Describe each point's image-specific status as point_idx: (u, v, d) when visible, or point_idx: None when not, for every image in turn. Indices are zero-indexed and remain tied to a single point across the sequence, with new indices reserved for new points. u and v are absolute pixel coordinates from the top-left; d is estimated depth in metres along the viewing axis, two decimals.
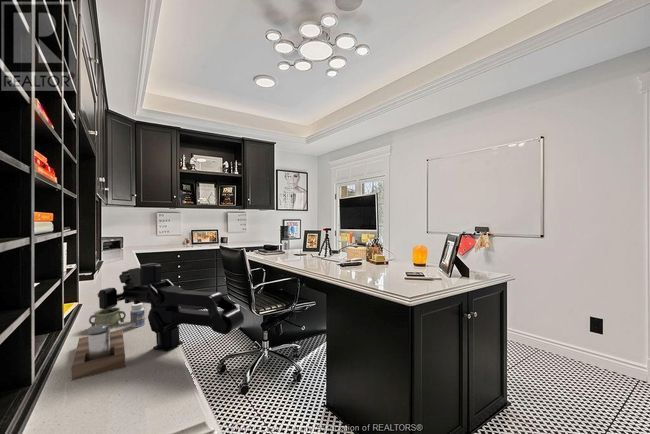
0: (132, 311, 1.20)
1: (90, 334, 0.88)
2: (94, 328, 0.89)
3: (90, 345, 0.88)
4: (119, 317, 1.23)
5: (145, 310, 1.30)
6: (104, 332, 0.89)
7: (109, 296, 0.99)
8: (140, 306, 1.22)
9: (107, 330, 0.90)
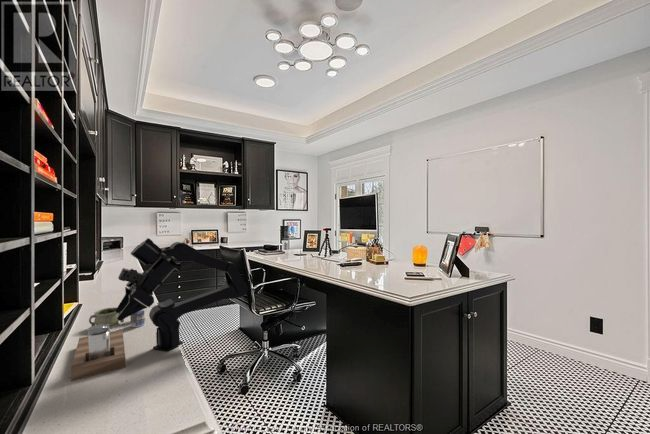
0: None
1: (90, 334, 0.88)
2: (94, 328, 0.89)
3: (90, 345, 0.88)
4: None
5: (145, 310, 1.30)
6: (104, 332, 0.89)
7: (144, 291, 0.91)
8: None
9: (107, 330, 0.90)
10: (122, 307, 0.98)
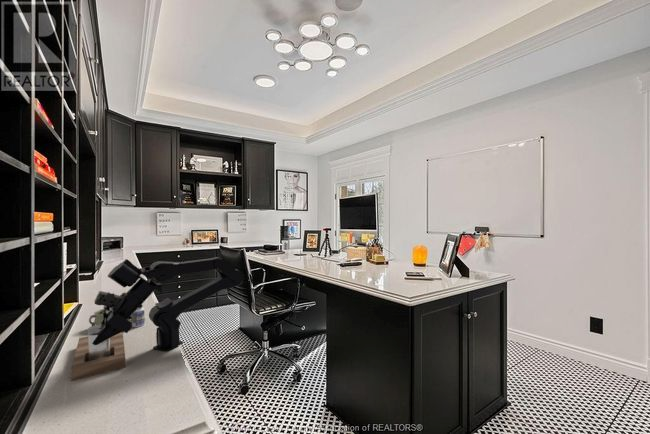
0: None
1: (90, 334, 0.88)
2: (94, 328, 0.89)
3: (90, 345, 0.88)
4: None
5: (145, 310, 1.30)
6: None
7: (122, 316, 0.87)
8: None
9: None
10: None
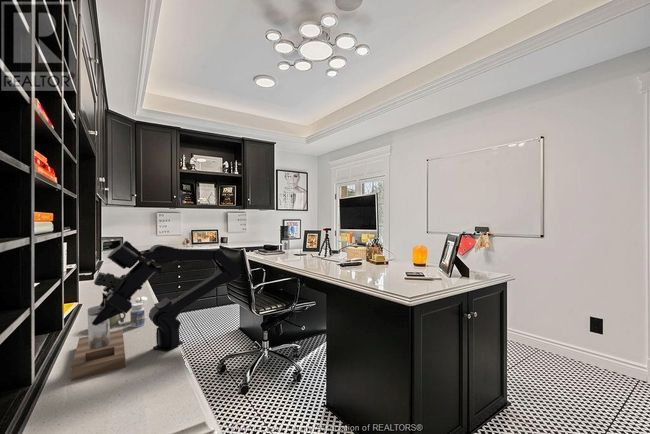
0: (132, 311, 1.20)
1: (89, 314, 0.88)
2: (93, 308, 0.89)
3: (89, 325, 0.88)
4: (119, 317, 1.23)
5: (145, 310, 1.30)
6: None
7: (121, 296, 0.87)
8: (140, 306, 1.22)
9: None
10: None
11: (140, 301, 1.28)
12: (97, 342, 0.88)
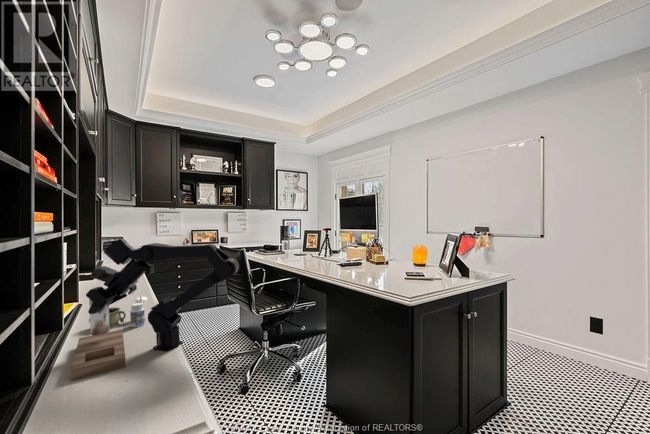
0: (132, 311, 1.20)
1: (89, 303, 0.98)
2: None
3: None
4: (119, 317, 1.23)
5: (145, 310, 1.30)
6: None
7: (100, 291, 0.92)
8: (140, 306, 1.22)
9: None
10: None
11: (140, 301, 1.28)
12: (93, 330, 0.97)
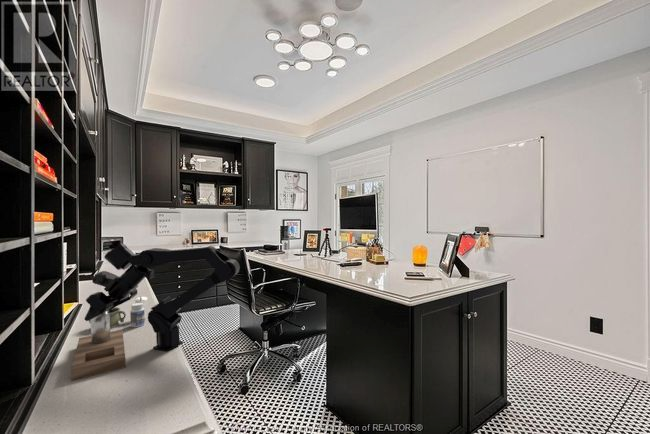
0: (132, 311, 1.20)
1: None
2: None
3: (90, 322, 0.99)
4: (119, 317, 1.23)
5: (145, 310, 1.30)
6: None
7: (100, 296, 0.93)
8: (140, 306, 1.22)
9: None
10: None
11: (140, 301, 1.28)
12: (94, 338, 0.98)
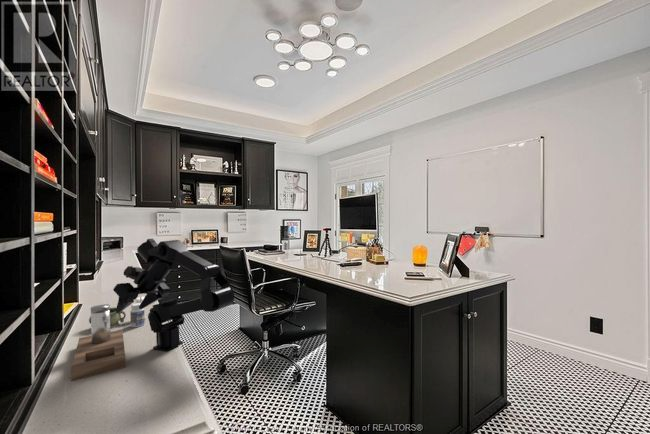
0: (132, 311, 1.20)
1: None
2: (95, 307, 1.00)
3: (91, 321, 0.99)
4: (119, 317, 1.23)
5: (145, 310, 1.30)
6: (100, 312, 0.98)
7: (125, 285, 0.95)
8: None
9: (103, 310, 0.99)
10: (143, 304, 1.07)
11: (140, 301, 1.28)
12: (94, 338, 0.98)
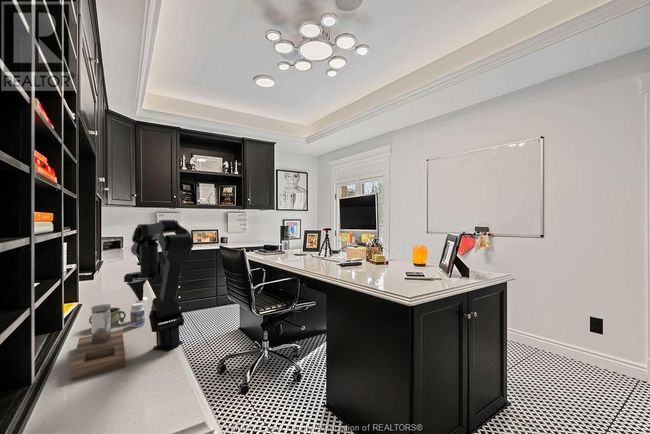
0: (132, 311, 1.20)
1: None
2: (96, 307, 1.00)
3: None
4: (119, 317, 1.23)
5: (145, 310, 1.30)
6: (101, 312, 0.98)
7: (135, 272, 1.15)
8: (140, 306, 1.22)
9: (104, 310, 0.99)
10: None
11: (140, 301, 1.28)
12: (95, 338, 0.98)
